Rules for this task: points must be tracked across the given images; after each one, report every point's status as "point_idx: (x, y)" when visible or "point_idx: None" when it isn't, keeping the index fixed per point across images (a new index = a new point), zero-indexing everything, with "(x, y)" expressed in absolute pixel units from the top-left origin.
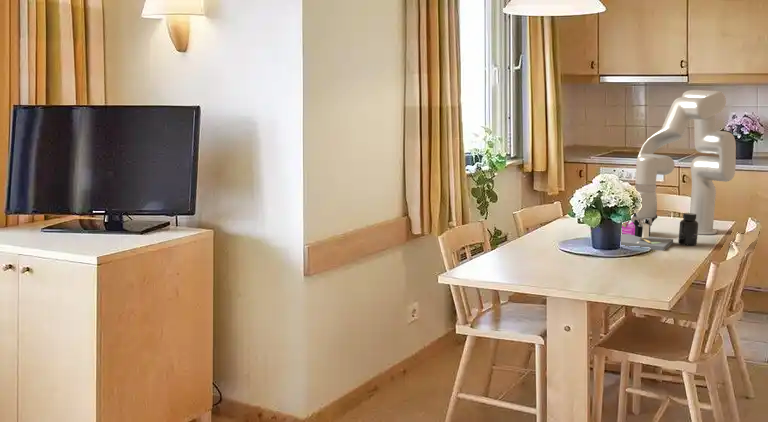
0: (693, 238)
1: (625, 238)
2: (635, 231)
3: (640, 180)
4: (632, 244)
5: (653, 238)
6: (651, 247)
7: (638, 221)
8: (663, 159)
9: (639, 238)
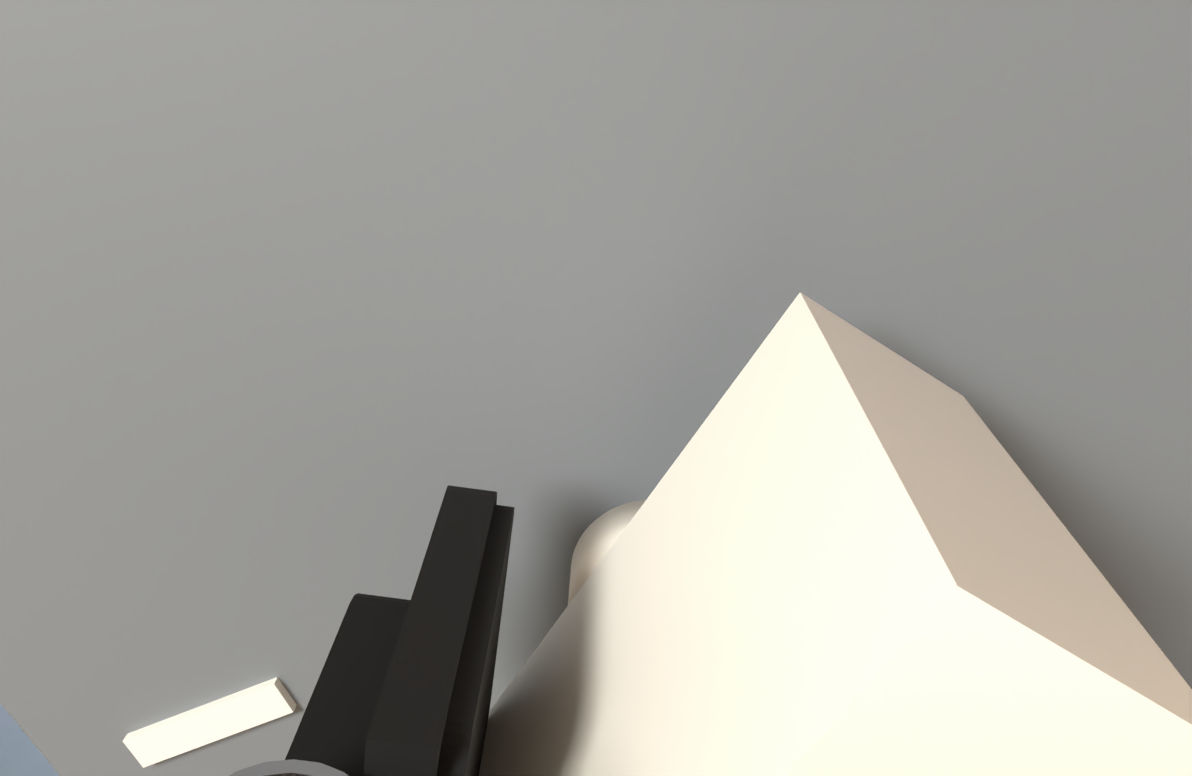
0: None
1: (371, 114)
2: (332, 664)
3: None
4: (13, 682)
5: (1179, 590)
6: None
7: (961, 704)
8: None
9: (580, 543)
